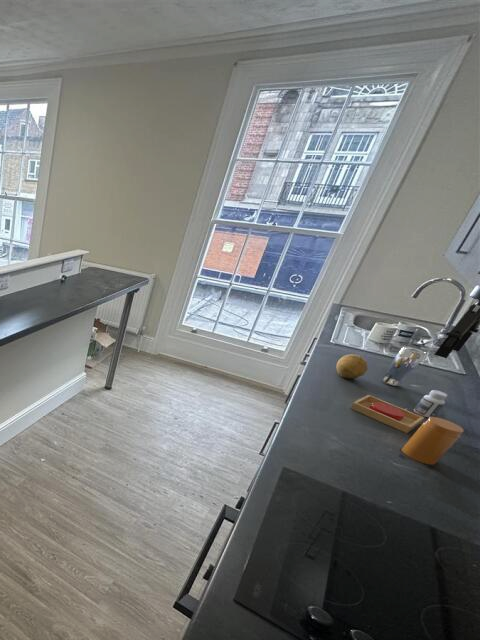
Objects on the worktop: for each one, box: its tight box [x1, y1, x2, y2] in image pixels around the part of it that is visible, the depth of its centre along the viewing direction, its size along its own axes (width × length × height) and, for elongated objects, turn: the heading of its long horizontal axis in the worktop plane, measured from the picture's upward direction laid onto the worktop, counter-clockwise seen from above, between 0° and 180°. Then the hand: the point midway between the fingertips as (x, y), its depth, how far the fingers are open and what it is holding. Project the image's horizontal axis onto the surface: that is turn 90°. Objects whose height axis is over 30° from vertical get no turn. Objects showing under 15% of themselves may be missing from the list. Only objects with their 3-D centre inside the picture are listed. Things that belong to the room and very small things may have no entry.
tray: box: [349, 394, 425, 434], centre depth 138 cm, size 16×14×2 cm
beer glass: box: [380, 346, 426, 387], centre depth 158 cm, size 7×7×15 cm
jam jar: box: [401, 416, 465, 466], centre depth 116 cm, size 8×8×12 cm
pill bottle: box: [413, 389, 448, 419], centre depth 140 cm, size 5×5×9 cm
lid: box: [369, 402, 405, 421], centre depth 138 cm, size 8×8×2 cm
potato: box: [335, 353, 369, 379], centre depth 162 cm, size 10×13×9 cm
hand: (446, 352), depth 127 cm, fingers open, 13 cm apart
